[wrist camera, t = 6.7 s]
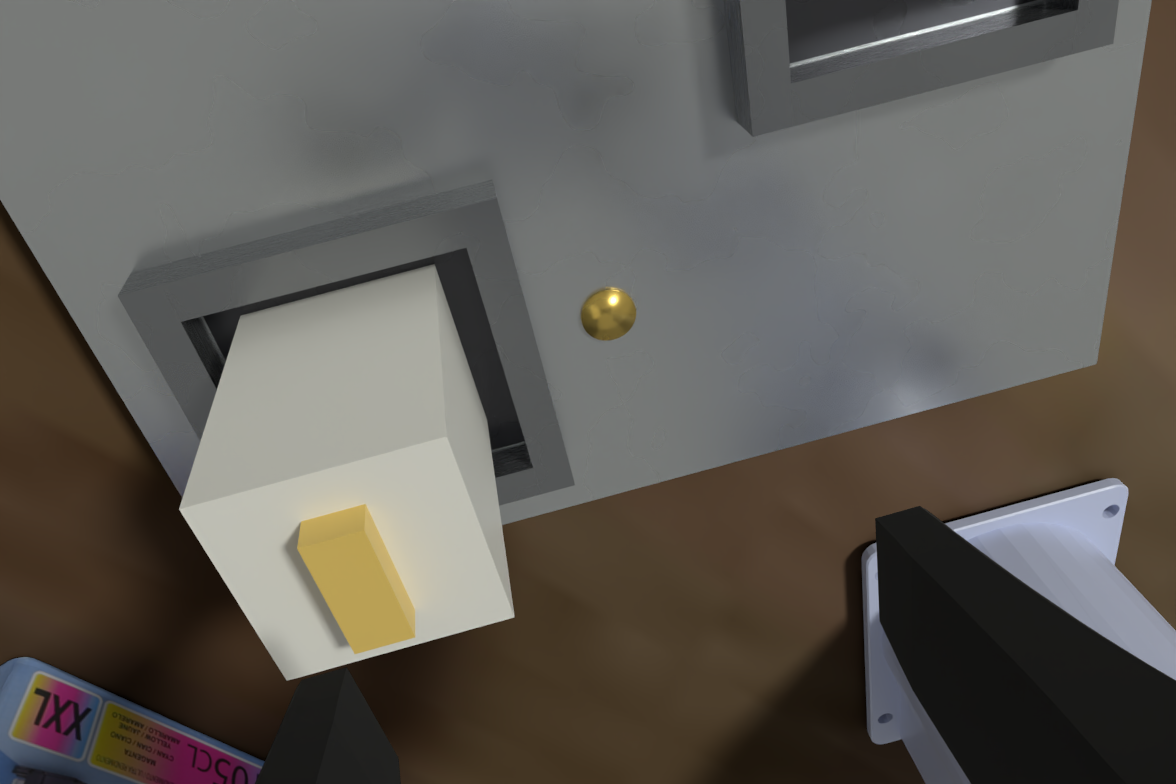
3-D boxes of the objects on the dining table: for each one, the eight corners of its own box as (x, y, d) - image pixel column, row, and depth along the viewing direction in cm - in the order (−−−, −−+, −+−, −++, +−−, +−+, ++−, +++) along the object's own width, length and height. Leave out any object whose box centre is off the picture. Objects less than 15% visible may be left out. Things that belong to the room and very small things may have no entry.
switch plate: (1072, 344, 23) (1123, 384, 22) (247, 567, 23) (235, 626, 21) (1180, -487, 14) (1281, -524, 13) (-181, -161, 14) (-262, -157, 12)
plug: (487, 419, 20) (518, 643, 15) (315, 466, 20) (282, 710, 15) (434, 263, 18) (448, 461, 13) (240, 315, 18) (169, 537, 12)
